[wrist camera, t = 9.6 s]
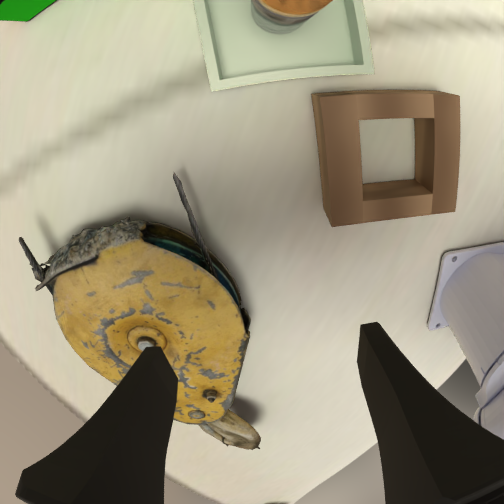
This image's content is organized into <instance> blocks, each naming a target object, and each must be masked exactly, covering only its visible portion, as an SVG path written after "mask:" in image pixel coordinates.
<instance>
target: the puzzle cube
mask: <svg viewBox="0 0 504 504" xmlns="http://www.w3.org/2000/svg"><path fill="white" fill-rule="evenodd" d="M55 1H56V0H0V20H5V21H26V22H27V21H29V20H30V19H31V18H33V17H34V16H35V15H37V14H38V13H39V12H41V11H42V10H43V9H45V8H46V7H47V6H49V5H50V4H52V3H53V2H55Z"/></svg>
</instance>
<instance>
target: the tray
mask: <svg viewBox="0 0 504 504" xmlns="http://www.w3.org/2000/svg"><path fill="white" fill-rule="evenodd" d="M193 3H194V8H195V13H196V18H197V23H198V28H199V33H200V38H201V43H202V48H203V53H204V58H205V63H206V68H207V73H208V78H209V83H210V88H211V92H213V91H218V90H223V89H229V88H234V87H240V86H246V85H252V84H259V83H265V82H273V81H281V80H289V79H298V78H309V77H321V76H336V75H358V74H374V66H373V58H372V51H371V44H370V38H369V32H368V26H367V20H366V15H365V10H364V5H363V0H333V1H332V2H330V3H329V4H328V5H327V6H325V7H324V8H323V9H321V10H320V11H319V12H318V13H316V14H315V15H314V16H313V17H311V18H310V19H309V20H308V21H306V22H305V23H304V24H303V25H301V26H300V27H299V28H298V29H296V30H295V31H293V32H290V33H287V34H272V33H269V32H267V31H264V30H263V29H261V28H260V27H259V26H258V25H257V24H256V23H255V21H254V20H253V17H252V14H251V0H193Z"/></svg>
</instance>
